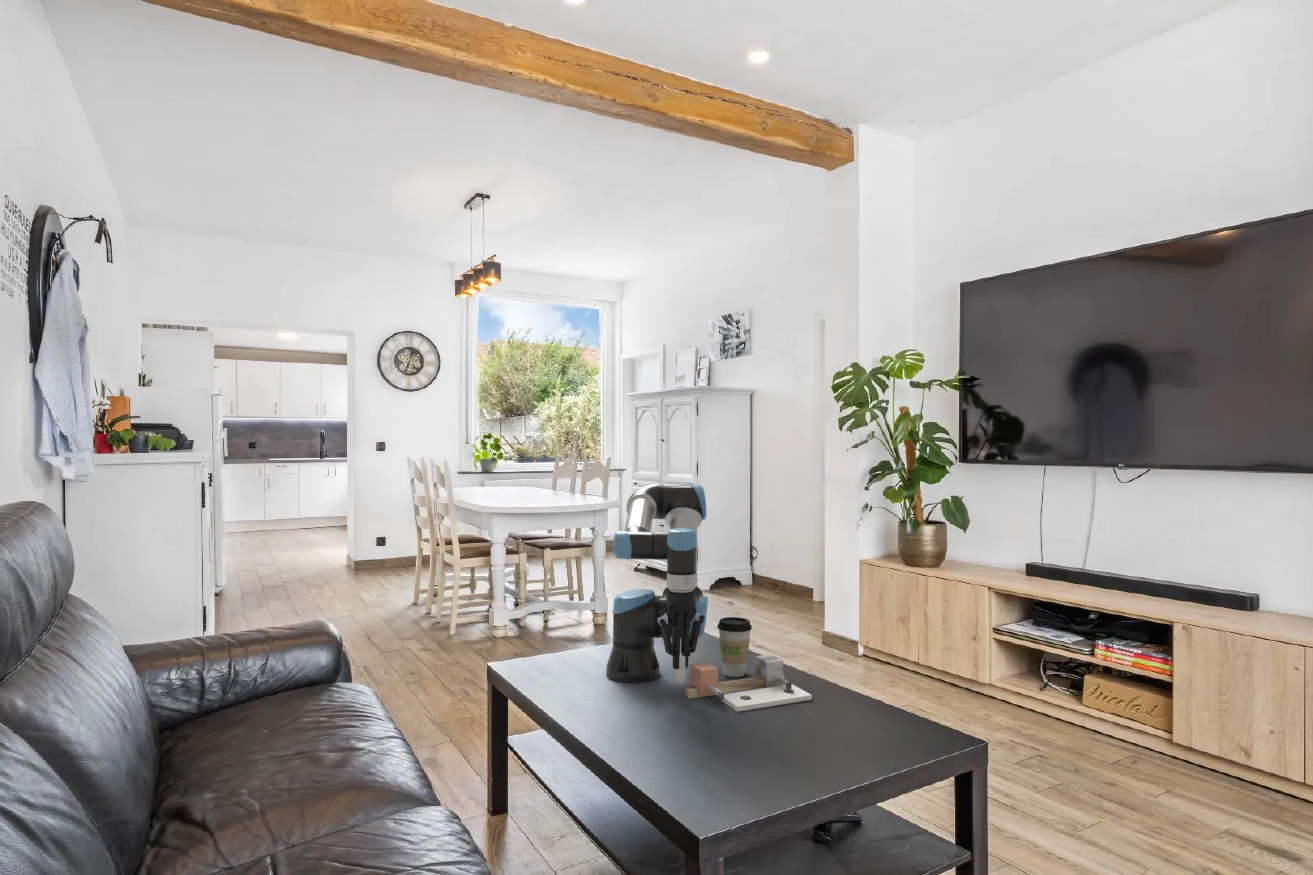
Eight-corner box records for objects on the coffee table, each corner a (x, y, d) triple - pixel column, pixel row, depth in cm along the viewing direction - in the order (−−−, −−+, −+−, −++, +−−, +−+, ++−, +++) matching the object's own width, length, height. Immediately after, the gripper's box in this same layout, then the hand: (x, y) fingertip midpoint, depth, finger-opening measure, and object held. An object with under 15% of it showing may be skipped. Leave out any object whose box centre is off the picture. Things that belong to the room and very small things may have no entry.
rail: (681, 692, 196) (681, 665, 196) (775, 679, 208) (775, 653, 208) (704, 710, 184) (705, 681, 184) (802, 694, 196) (803, 667, 196)
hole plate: (719, 699, 192) (719, 694, 192) (791, 688, 201) (791, 683, 201) (737, 711, 184) (737, 706, 184) (811, 699, 193) (811, 694, 193)
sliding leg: (690, 688, 197) (690, 664, 197) (706, 686, 199) (707, 661, 199) (713, 705, 185) (714, 679, 185) (731, 702, 187) (731, 676, 187)
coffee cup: (710, 670, 215) (711, 618, 215) (739, 666, 220) (740, 615, 219) (727, 680, 207) (728, 626, 206) (758, 676, 211) (758, 623, 211)
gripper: (664, 594, 187) (663, 688, 187) (710, 590, 192) (709, 682, 192) (652, 588, 193) (651, 679, 194) (697, 584, 199) (696, 673, 199)
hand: (680, 680), depth 193 cm, fingers closed
